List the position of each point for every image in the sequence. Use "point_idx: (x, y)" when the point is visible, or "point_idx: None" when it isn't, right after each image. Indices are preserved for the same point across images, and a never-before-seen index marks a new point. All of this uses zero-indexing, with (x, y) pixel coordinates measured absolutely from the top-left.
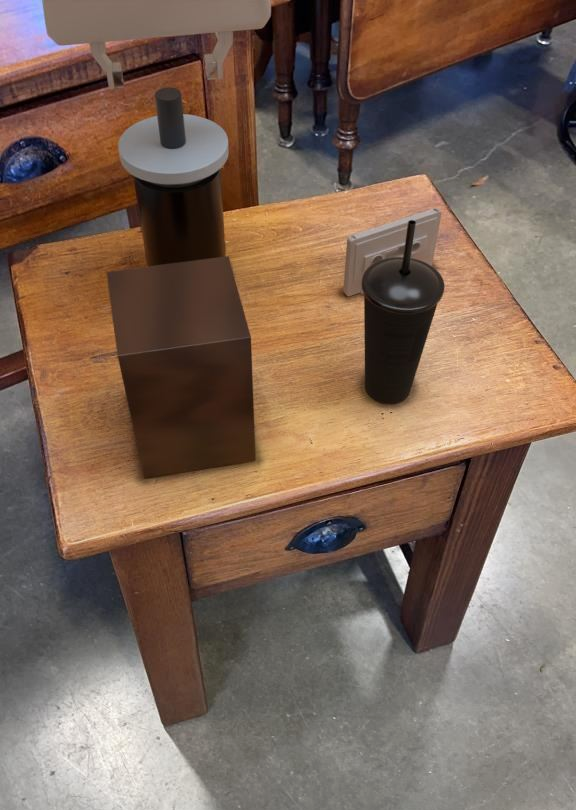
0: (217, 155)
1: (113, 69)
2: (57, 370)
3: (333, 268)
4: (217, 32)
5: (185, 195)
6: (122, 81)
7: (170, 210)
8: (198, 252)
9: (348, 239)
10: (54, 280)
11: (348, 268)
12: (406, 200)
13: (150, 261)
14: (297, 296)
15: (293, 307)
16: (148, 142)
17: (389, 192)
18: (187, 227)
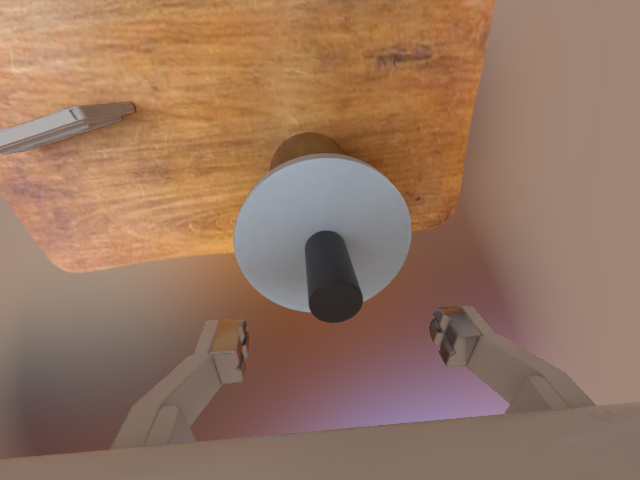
0: (254, 201)
1: (475, 342)
2: (469, 42)
3: (151, 158)
4: (173, 443)
5: None
6: (447, 316)
7: None
8: (301, 144)
9: (84, 114)
10: (431, 190)
11: (107, 104)
12: (75, 253)
13: None
14: (193, 117)
15: (198, 97)
16: (362, 253)
17: (96, 266)
18: (314, 150)
